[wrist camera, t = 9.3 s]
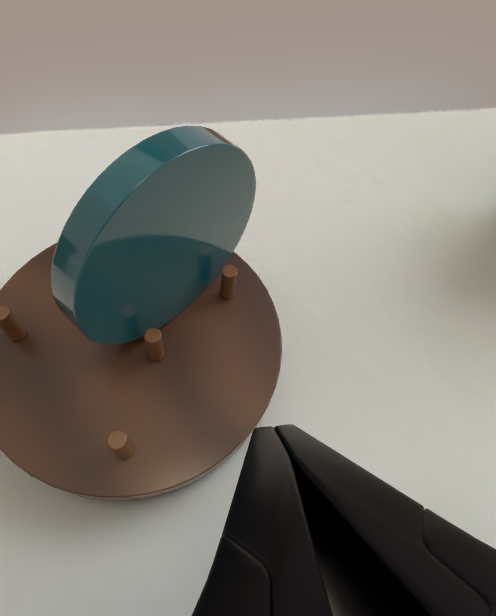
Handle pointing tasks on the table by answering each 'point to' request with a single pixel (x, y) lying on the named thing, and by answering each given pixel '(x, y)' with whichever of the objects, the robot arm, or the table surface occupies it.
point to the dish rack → (141, 327)
